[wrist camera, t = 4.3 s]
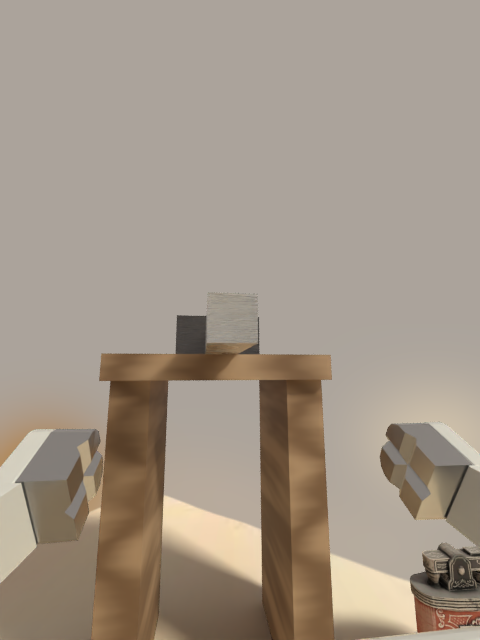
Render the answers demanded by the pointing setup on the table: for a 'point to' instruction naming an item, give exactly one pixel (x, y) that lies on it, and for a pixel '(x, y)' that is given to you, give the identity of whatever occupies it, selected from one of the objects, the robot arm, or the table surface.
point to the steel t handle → (221, 326)
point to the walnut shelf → (276, 490)
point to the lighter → (448, 589)
